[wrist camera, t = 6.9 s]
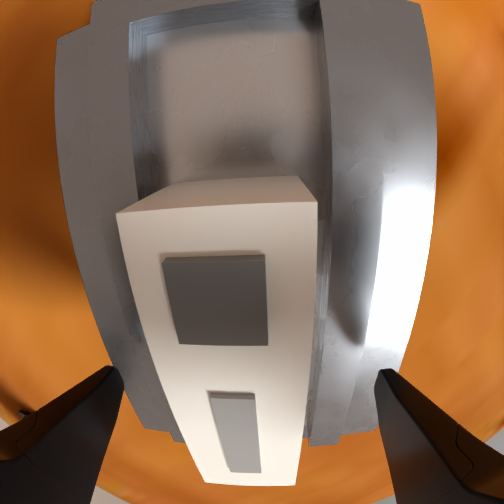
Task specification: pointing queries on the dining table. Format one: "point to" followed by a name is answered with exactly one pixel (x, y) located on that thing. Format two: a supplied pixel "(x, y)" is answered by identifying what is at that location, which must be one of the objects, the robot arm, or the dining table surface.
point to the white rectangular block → (229, 317)
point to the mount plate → (259, 164)
